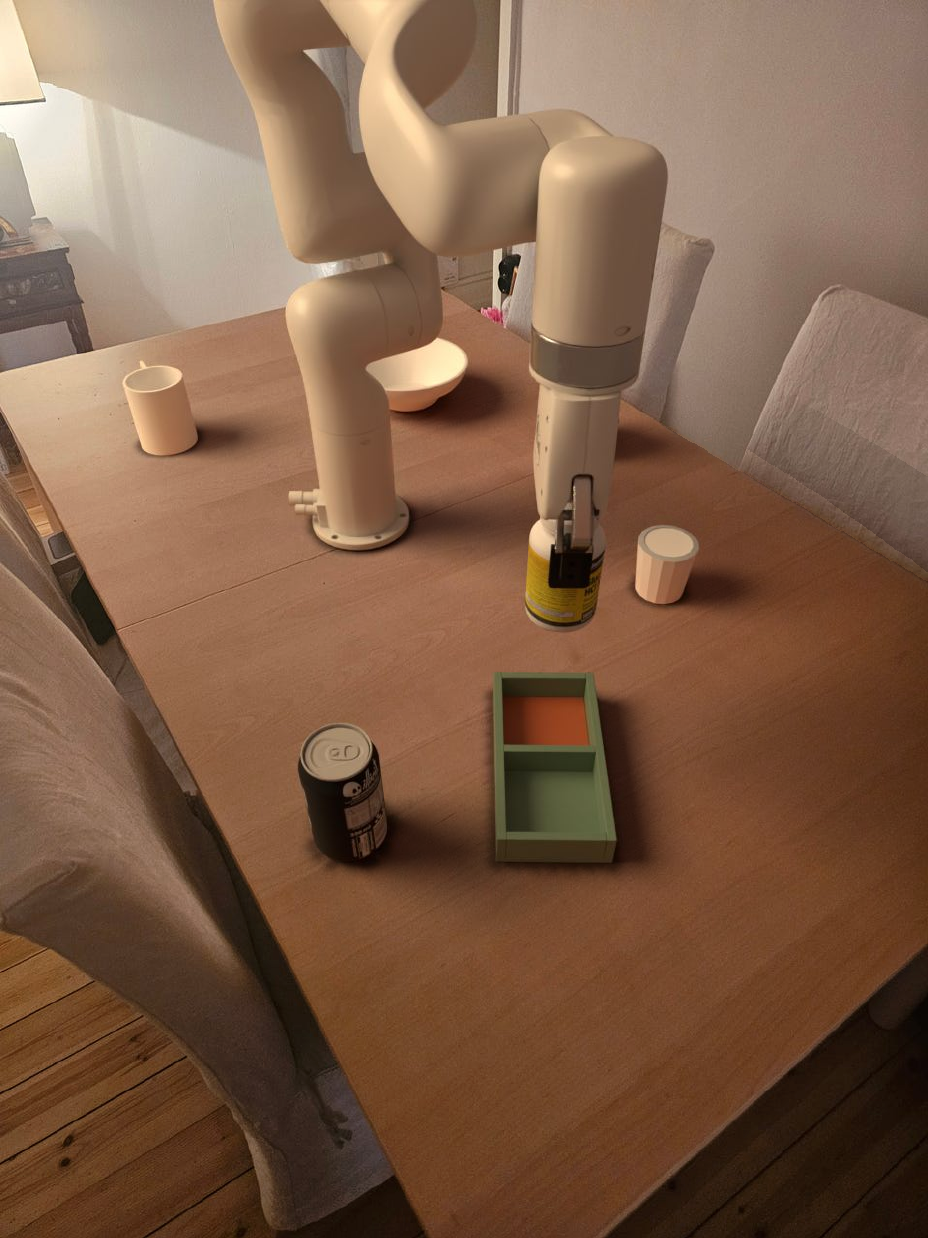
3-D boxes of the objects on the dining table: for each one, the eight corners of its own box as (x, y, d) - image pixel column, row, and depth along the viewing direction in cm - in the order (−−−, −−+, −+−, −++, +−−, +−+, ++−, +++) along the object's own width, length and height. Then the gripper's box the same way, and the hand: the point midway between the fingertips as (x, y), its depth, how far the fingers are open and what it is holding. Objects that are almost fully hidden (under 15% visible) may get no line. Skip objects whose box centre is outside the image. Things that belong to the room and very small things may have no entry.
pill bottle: (592, 640, 69) (607, 534, 61) (519, 630, 70) (525, 525, 62) (598, 592, 73) (613, 488, 66) (529, 583, 74) (536, 480, 67)
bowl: (490, 391, 134) (491, 351, 130) (423, 444, 122) (421, 402, 118) (394, 363, 142) (391, 324, 137) (321, 410, 130) (316, 369, 125)
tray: (495, 862, 71) (496, 839, 69) (493, 695, 86) (493, 671, 83) (611, 863, 71) (617, 840, 69) (589, 696, 86) (593, 672, 83)
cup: (182, 411, 130) (166, 351, 123) (204, 446, 122) (189, 383, 115) (129, 424, 127) (110, 363, 120) (149, 460, 119) (129, 397, 112)
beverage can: (316, 805, 76) (297, 721, 68) (387, 800, 76) (377, 716, 68) (312, 869, 71) (292, 787, 63) (388, 863, 71) (378, 781, 63)
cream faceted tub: (691, 576, 100) (702, 530, 95) (683, 613, 95) (695, 566, 90) (635, 565, 101) (643, 519, 97) (624, 600, 97) (632, 553, 92)
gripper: (524, 299, 62) (515, 498, 74) (537, 413, 49) (523, 630, 61) (624, 299, 62) (598, 498, 74) (662, 413, 49) (624, 631, 61)
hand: (564, 556), depth 67 cm, fingers closed on pill bottle, 6 cm apart
